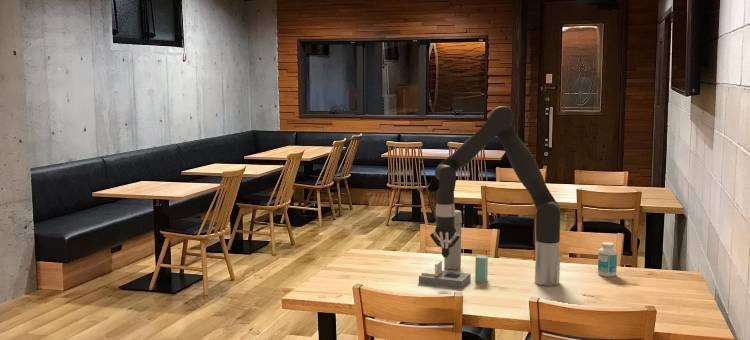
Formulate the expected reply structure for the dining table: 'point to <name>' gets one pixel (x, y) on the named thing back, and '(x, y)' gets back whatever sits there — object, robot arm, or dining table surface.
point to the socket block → (446, 279)
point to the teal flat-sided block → (481, 268)
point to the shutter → (434, 270)
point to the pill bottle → (607, 260)
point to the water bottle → (455, 246)
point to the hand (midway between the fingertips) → (445, 256)
